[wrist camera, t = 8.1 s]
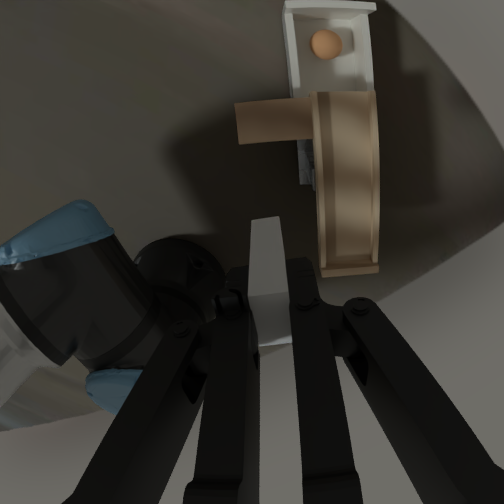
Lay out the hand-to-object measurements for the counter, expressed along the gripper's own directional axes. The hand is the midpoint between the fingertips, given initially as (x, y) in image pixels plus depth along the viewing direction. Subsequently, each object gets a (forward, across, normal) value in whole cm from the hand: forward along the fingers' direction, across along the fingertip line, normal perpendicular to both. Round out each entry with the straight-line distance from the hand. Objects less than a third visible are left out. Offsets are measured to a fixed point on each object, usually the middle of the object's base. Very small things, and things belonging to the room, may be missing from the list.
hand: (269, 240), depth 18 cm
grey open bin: (+23, +9, +10) cm, 27 cm away
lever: (+17, +4, -3) cm, 17 cm away
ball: (+21, +9, +12) cm, 25 cm away
